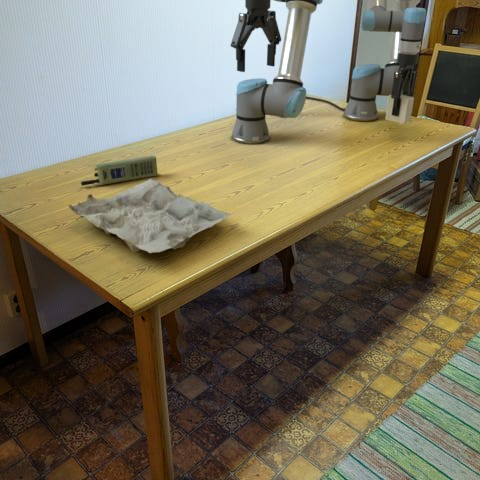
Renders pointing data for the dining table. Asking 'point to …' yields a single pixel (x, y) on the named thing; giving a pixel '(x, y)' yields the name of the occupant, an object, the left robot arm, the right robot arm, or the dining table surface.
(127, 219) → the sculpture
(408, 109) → the brick
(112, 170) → the handheld radio
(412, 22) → the right robot arm
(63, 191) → the dining table surface
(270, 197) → the dining table surface
